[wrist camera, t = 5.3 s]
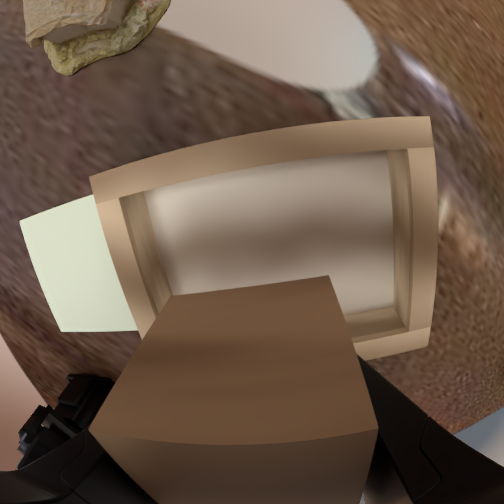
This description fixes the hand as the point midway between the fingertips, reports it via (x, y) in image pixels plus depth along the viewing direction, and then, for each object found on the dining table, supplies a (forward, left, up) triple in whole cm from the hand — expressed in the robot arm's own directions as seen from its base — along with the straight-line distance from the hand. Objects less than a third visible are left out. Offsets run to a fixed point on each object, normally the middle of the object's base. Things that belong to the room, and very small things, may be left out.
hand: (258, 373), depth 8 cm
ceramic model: (+21, +8, -12) cm, 26 cm away
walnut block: (0, 0, -1) cm, 1 cm away
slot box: (0, -1, -12) cm, 12 cm away
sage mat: (0, +15, -12) cm, 19 cm away
